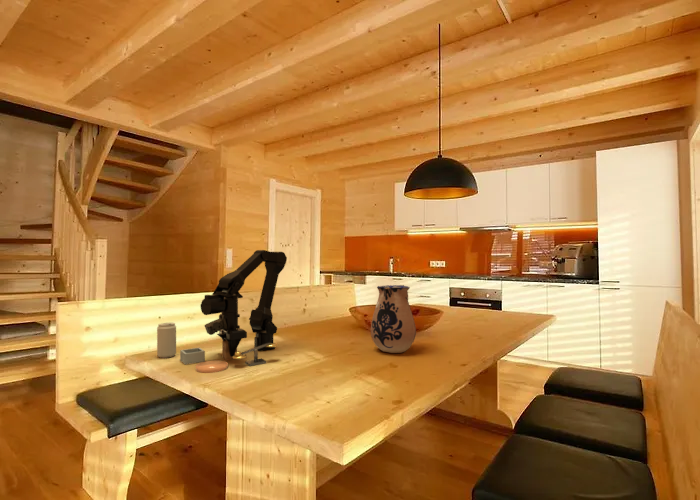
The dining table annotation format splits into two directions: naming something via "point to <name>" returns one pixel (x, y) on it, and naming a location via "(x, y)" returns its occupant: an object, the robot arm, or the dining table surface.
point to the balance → (256, 361)
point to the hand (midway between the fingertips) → (229, 354)
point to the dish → (211, 366)
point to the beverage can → (166, 340)
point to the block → (226, 351)
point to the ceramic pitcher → (393, 320)
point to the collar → (192, 355)
